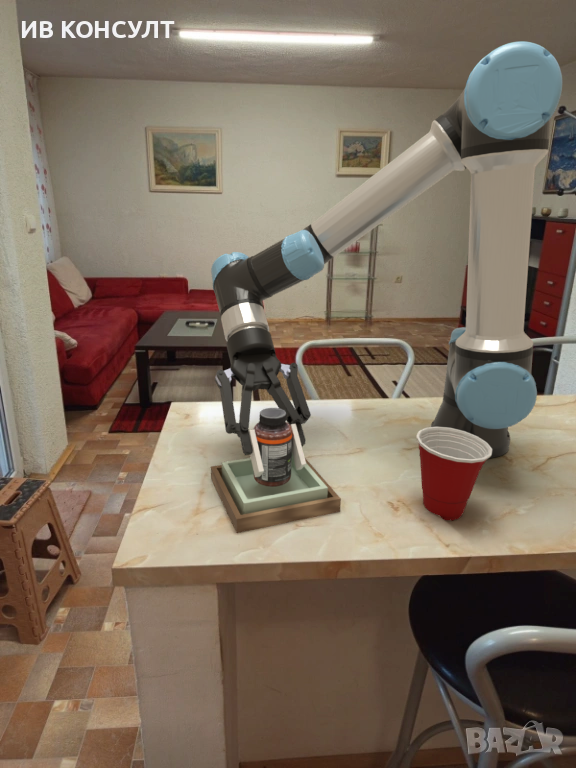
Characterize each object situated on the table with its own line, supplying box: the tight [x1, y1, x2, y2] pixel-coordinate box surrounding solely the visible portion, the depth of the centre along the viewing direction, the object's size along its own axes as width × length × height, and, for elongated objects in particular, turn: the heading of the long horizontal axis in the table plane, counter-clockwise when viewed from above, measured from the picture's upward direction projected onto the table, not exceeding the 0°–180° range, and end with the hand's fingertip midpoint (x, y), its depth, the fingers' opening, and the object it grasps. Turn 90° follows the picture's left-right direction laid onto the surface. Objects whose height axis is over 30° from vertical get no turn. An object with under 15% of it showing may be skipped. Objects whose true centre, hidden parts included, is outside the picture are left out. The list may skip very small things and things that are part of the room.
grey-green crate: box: [221, 454, 328, 515], centre depth 81 cm, size 13×13×4 cm
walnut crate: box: [210, 457, 342, 534], centre depth 81 cm, size 16×16×3 cm
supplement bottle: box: [252, 407, 292, 487], centre depth 79 cm, size 6×6×11 cm
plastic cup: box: [415, 426, 492, 521], centre depth 77 cm, size 11×11×12 cm
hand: (280, 470), depth 76 cm, fingers closed on supplement bottle, 6 cm apart
